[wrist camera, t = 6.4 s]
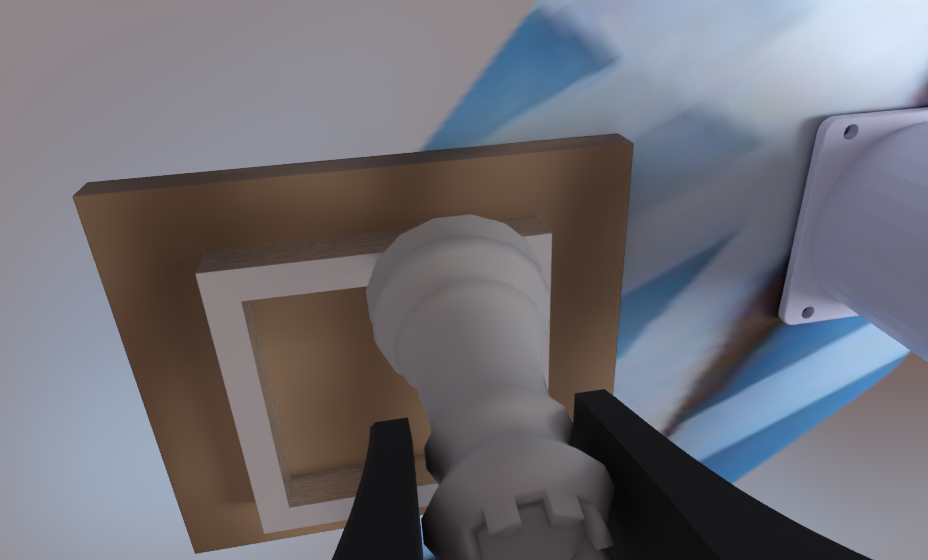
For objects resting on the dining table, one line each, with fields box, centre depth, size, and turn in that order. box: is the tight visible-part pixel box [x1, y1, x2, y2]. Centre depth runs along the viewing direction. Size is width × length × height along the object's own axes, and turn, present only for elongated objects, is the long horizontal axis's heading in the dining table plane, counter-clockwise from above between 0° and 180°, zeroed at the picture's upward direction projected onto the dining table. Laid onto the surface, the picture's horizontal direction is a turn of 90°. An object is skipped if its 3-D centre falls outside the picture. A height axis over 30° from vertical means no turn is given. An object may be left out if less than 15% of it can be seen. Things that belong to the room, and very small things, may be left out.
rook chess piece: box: [366, 214, 615, 560], centre depth 13 cm, size 4×4×8 cm
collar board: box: [73, 134, 633, 554], centre depth 21 cm, size 16×14×3 cm
